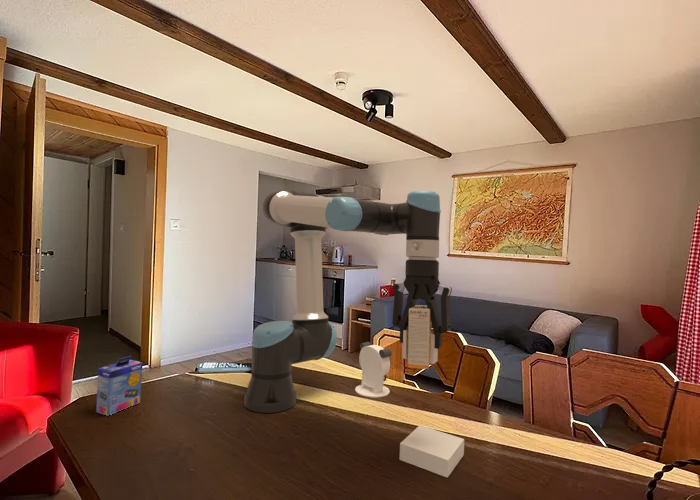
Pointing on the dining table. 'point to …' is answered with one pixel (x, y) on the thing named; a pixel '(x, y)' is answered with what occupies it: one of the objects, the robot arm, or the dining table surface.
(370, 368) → the white rounded upright piece
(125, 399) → the ink cartridge box
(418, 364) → the supplement box
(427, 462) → the white block
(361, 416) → the dining table surface
